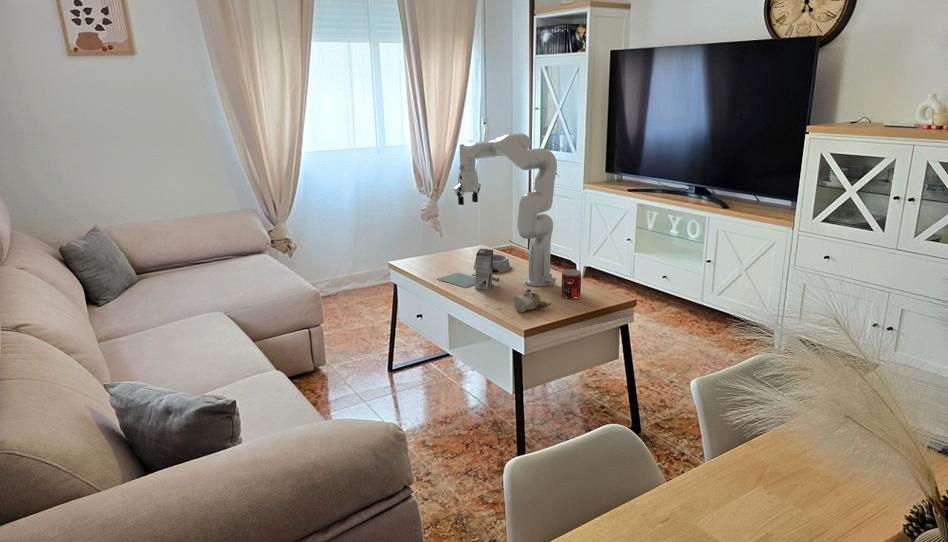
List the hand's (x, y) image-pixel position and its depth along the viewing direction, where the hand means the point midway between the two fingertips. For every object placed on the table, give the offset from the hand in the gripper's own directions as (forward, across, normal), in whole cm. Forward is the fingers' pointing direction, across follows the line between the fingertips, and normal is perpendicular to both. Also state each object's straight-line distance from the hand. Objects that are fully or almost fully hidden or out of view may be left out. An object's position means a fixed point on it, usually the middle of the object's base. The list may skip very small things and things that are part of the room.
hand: (468, 203), depth 303 cm
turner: (+31, -10, -21) cm, 39 cm away
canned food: (+31, -6, -67) cm, 74 cm away
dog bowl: (+32, +4, -12) cm, 34 cm away
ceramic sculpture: (+32, -30, -64) cm, 77 cm away
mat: (+31, -21, -16) cm, 41 cm away
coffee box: (+31, -21, -30) cm, 48 cm away
